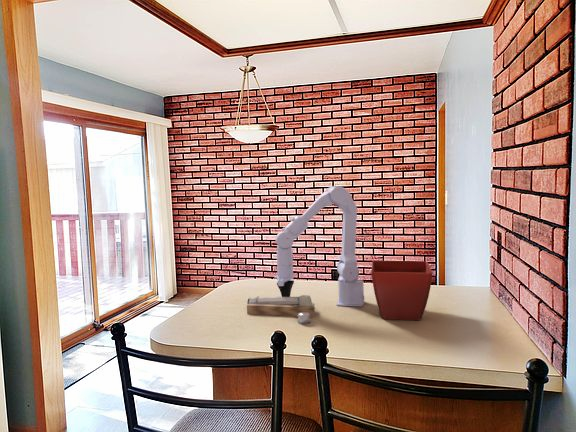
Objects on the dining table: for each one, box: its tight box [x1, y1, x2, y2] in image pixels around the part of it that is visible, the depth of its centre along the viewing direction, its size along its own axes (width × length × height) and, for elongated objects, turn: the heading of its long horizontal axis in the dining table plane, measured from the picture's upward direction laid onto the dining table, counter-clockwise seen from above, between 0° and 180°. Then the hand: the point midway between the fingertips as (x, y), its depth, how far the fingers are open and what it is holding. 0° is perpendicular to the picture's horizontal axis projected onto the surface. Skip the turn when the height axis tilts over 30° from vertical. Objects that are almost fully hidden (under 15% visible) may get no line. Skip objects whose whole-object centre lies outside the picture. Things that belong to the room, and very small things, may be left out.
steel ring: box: [297, 312, 311, 325], centre depth 150 cm, size 4×4×3 cm
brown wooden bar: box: [246, 304, 316, 317], centre depth 160 cm, size 24×2×3 cm, turn 76°
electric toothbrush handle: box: [246, 294, 316, 306], centre depth 165 cm, size 5×7×25 cm
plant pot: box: [370, 260, 434, 321], centre depth 155 cm, size 19×19×17 cm
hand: (286, 300), depth 168 cm, fingers closed
